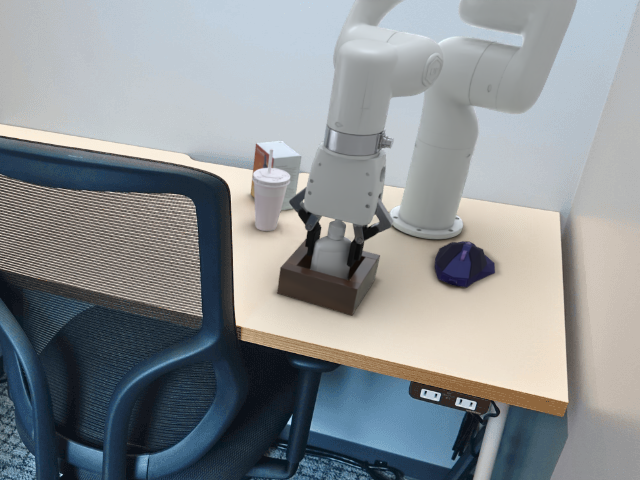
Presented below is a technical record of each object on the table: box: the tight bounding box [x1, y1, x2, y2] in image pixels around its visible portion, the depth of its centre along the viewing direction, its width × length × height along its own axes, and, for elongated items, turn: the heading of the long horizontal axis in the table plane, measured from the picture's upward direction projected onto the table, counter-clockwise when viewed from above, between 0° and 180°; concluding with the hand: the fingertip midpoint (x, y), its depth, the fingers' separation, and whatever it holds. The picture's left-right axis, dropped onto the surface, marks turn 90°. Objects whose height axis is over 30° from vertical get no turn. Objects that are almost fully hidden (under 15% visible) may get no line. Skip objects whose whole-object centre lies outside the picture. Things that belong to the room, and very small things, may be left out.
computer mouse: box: [434, 240, 496, 288], centre depth 110 cm, size 9×15×4 cm, turn 149°
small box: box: [250, 140, 303, 211], centre depth 128 cm, size 8×6×10 cm
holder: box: [276, 238, 381, 317], centre depth 105 cm, size 12×12×4 cm
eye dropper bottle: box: [310, 219, 352, 280], centre depth 103 cm, size 4×6×12 cm
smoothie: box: [251, 149, 290, 232], centre depth 119 cm, size 6×6×14 cm
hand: (332, 256), depth 103 cm, fingers closed on eye dropper bottle, 5 cm apart
